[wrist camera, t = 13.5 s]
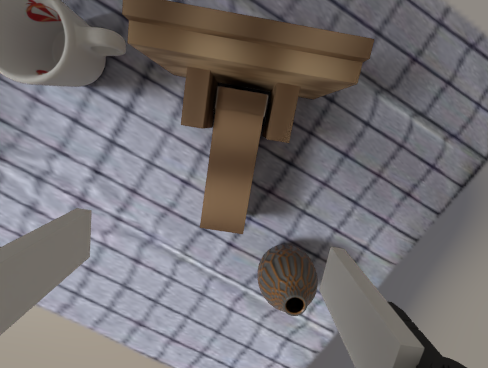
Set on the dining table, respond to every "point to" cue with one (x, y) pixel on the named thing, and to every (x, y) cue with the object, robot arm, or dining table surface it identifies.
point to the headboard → (244, 58)
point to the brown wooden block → (232, 158)
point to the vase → (287, 279)
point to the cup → (52, 44)
